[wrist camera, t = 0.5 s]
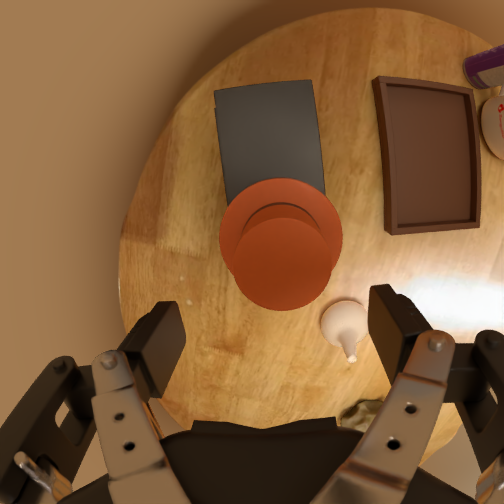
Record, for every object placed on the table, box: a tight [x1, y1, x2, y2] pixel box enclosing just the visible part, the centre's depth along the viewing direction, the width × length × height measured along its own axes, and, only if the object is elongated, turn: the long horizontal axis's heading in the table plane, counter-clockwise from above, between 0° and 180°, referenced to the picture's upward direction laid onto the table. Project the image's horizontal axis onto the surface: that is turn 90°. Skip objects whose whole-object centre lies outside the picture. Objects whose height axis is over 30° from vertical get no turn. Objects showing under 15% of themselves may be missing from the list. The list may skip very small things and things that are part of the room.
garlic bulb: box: [321, 301, 368, 363], centre depth 32 cm, size 6×6×8 cm
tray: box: [372, 76, 481, 235], centre depth 27 cm, size 18×14×2 cm
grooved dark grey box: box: [214, 80, 325, 207], centre depth 25 cm, size 14×7×11 cm, turn 7°
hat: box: [219, 178, 343, 311], centre depth 19 cm, size 9×9×6 cm
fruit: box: [341, 400, 383, 432], centre depth 38 cm, size 9×9×8 cm
